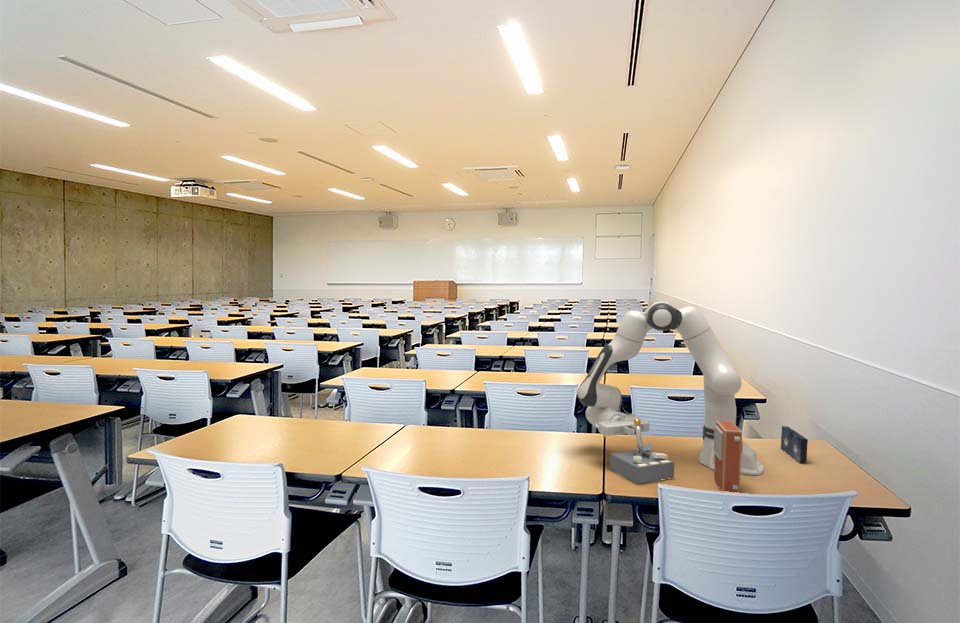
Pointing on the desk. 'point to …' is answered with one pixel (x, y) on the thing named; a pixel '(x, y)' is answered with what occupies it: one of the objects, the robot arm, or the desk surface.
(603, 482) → the desk surface
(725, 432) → the orange box
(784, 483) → the desk surface
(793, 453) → the vhs cassette tape
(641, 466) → the console
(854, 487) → the desk surface
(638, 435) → the lever
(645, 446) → the grey bar
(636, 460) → the button
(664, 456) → the block
